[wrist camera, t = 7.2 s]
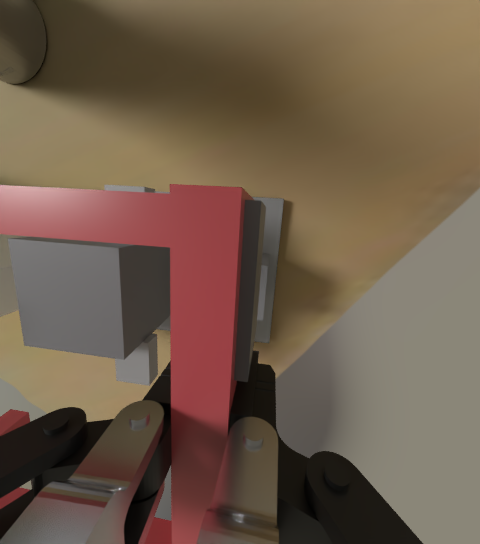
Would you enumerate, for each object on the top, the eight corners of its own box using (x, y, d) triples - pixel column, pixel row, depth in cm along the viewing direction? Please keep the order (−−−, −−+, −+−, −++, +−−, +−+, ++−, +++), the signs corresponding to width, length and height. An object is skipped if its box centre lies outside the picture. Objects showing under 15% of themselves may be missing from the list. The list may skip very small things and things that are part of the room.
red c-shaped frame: (267, 203, 10) (260, 188, 5) (245, 472, 13) (228, 621, 8) (-30, 187, 12) (-247, 164, 7) (14, 428, 15) (-113, 531, 10)
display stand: (283, 199, 27) (294, 181, 13) (269, 339, 31) (266, 436, 17) (122, 190, 29) (-11, 166, 15) (128, 321, 33) (26, 395, 19)
